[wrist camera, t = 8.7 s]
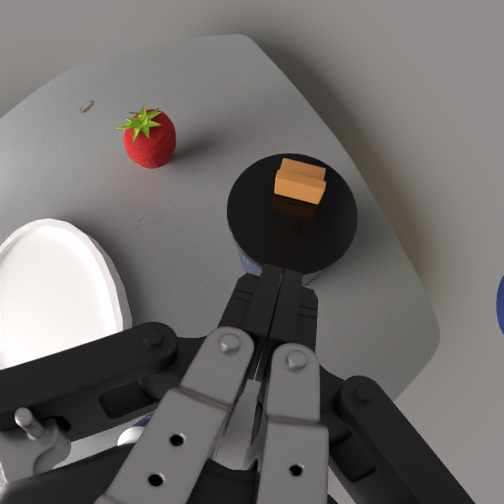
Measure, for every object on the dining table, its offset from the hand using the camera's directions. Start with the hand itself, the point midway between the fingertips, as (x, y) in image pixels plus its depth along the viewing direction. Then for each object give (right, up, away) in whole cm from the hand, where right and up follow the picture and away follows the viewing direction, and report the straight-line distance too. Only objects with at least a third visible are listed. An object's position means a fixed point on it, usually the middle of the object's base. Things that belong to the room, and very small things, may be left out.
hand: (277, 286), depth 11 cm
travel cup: (+2, +2, +20) cm, 20 cm away
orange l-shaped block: (+3, +6, +9) cm, 11 cm away
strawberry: (-12, +13, +23) cm, 29 cm away
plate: (-28, -9, +18) cm, 34 cm away
